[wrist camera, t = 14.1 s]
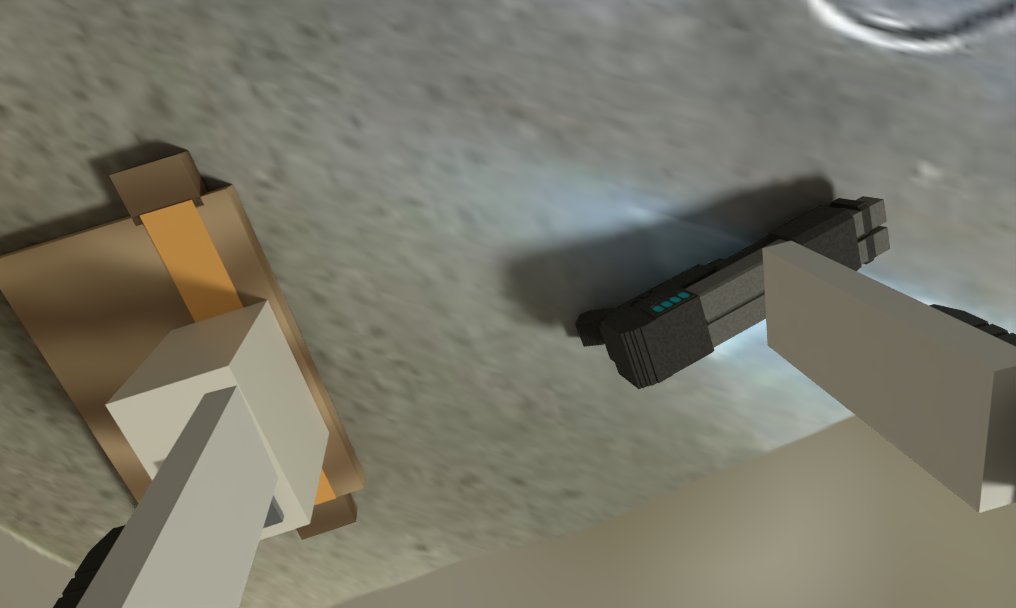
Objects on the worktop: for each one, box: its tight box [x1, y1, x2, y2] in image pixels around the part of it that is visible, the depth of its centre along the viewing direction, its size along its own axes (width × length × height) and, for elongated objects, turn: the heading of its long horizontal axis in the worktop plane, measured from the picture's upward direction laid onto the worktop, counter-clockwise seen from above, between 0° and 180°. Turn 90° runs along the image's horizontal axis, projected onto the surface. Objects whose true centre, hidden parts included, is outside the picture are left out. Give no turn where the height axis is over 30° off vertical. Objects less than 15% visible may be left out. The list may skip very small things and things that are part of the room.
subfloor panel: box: [0, 151, 365, 540], centre depth 40 cm, size 27×14×2 cm, turn 16°
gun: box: [575, 196, 890, 389], centre depth 42 cm, size 4×20×10 cm, turn 111°
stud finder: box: [105, 300, 329, 540], centre depth 35 cm, size 10×6×10 cm, turn 16°
